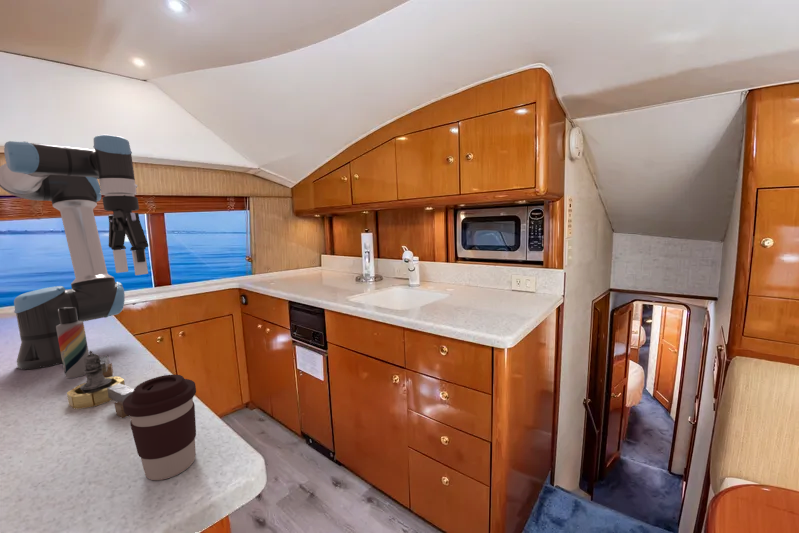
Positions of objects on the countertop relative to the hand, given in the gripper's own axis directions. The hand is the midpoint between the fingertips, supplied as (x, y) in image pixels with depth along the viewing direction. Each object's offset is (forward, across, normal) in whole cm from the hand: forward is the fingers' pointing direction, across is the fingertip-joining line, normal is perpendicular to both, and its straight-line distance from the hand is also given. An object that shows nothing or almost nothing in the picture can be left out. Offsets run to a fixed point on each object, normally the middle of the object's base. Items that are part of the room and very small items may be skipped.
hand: (131, 273), depth 97 cm
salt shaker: (+29, -8, +13) cm, 33 cm away
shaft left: (+29, +5, +8) cm, 30 cm away
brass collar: (+29, -8, +13) cm, 32 cm away
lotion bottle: (+29, +16, +11) cm, 35 cm away
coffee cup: (+29, -52, +15) cm, 61 cm away
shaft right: (+29, -22, +12) cm, 38 cm away
